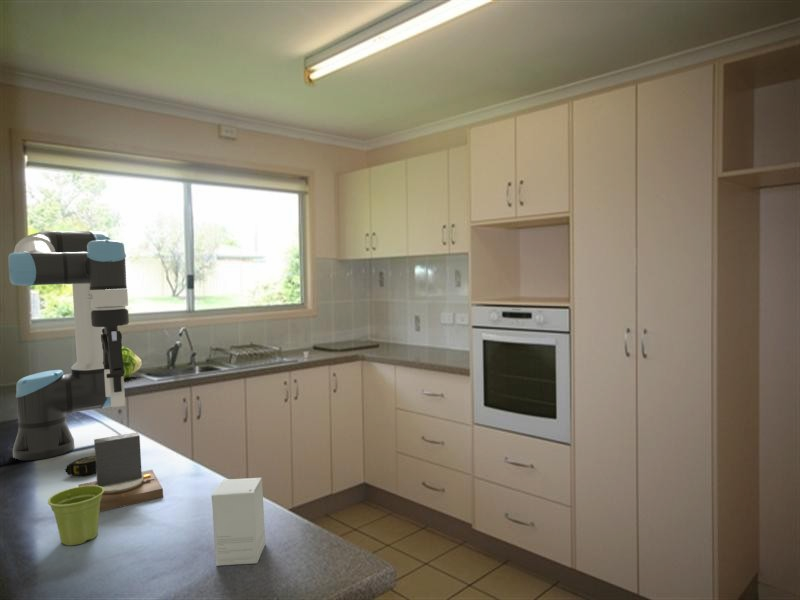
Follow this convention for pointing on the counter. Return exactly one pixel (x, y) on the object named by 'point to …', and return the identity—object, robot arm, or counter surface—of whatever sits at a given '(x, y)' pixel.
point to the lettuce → (130, 362)
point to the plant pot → (77, 513)
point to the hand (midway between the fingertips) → (115, 401)
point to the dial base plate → (132, 493)
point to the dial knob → (119, 463)
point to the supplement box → (238, 521)
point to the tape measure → (82, 466)
